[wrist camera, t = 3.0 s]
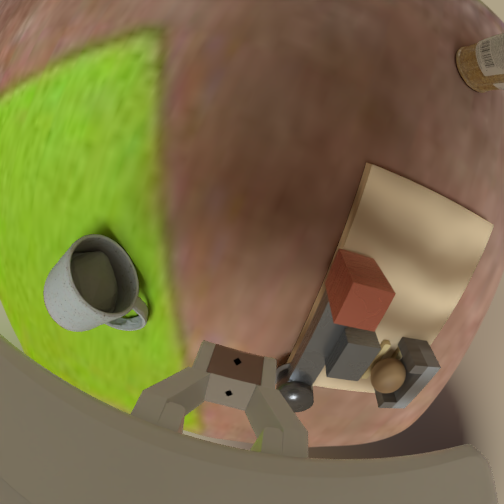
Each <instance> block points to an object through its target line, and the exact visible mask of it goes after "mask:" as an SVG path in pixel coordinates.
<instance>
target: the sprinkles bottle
mask: <svg viewBox="0 0 504 504" xmlns="http://www.w3.org/2000/svg"><path fill="white" fill-rule="evenodd" d="M456 63H457V67H458V70H459V73H460V75H461V76H462V78H463V79H464V81H465V82H466V84H467V85H468V86H470V87H471V88H472V89H474V90H475V91H478V92H482V93H483V92H487V91H489V90H497V89H501V90H504V33H502V34H499V35H496V36H493V37H490V38H487V39H484V40H481V41H479V42H478V43H476V44H473V45H470V46H466V47H461V48H460V49H459V50H458V51H457V54H456Z"/></svg>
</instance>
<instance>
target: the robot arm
mask: <svg viewBox="0 0 504 504" xmlns="http://www.w3.org/2000/svg"><path fill="white" fill-rule="evenodd" d="M276 364H277V360H276V359H274V358H269V357H265V356H264V357H263V356H260V355H256V354H251V353H247V352H243V351H239V350H235V349H232V348H228V347H225V346H222V345H219V344H214V343H211V342H208V341H205V340H204V341H203V342H202V344H201V346H200V349H199V351H198V354H197V356H196V359H195V361H194V364H193V366H192V368H191V367H187V368H185V369H183V370H181V371H180V372H178V373H176V374H174V375H172V376H170V377H168V378H166V379H164V380H163V381H161V382H159V383H157V384H155V385H153V386H151V387H149V388H147V389H145V390H143V392H142V394H141V395H140V397H139V399H138V401H137V403H136V405H135V407H134V409H133V411H132V413H131V415H130V414H128V413H126V412H123V411H121V410H119V409H117V408H115V407H113V406H110V405H108V404H106V403H104V402H102V401H100V400H98V399H96V398H94V397H92V396H91V395H89V394H87V393H85V392H83V391H81V390H80V389H78V388H76V387H74V386H73V385H71V384H69V383H68V382H66V381H64V380H63V379H61V378H59V377H58V376H56V375H55V374H53V373H51V372H50V371H48V370H47V369H45V368H44V367H42V366H41V365H40V364H38V363H37V362H35V361H34V360H32V359H31V358H30V357H28V356H27V355H26V354H24V353H23V352H22V351H20V350H19V349H18V348H16V347H15V346H14V345H13V344H11V343H10V342H9V341H8V340H6V339H5V338H4V337H3V336H2V335H1V334H0V504H498V499H497V493H496V487H495V482H494V478H493V474H492V471H491V467H490V464H489V462H488V460H487V458H486V457H485V456H484V455H483V454H482V453H481V452H480V451H479V450H477V449H476V448H475V447H473V446H472V445H470V444H465V445H461V446H457V447H453V448H448V449H444V450H439V451H434V452H428V453H422V454H416V455H408V456H400V457H389V458H378V459H377V458H376V459H316V458H308V431H307V430H306V428H305V427H304V426H303V424H302V423H301V421H300V420H299V419H298V417H297V416H296V414H295V413H294V412H293V410H292V409H291V407H290V406H289V404H288V403H287V401H286V400H285V399H284V397H283V396H282V394H281V393H280V391H279V390H277V389H275V381H276ZM204 401H208V402H212V403H216V404H221V405H225V406H228V407H232V408H236V409H240V410H244V411H245V413H246V415H247V417H248V419H249V422H250V424H251V426H252V428H253V430H254V432H255V434H256V437H257V440H256V442H255V443H254V445H253V446H252V448H251V449H250V450H244V449H239V448H234V447H230V446H225V445H221V444H217V443H213V442H209V441H205V440H201V439H198V438H194V437H191V436H188V435H184V434H182V432H183V424H184V416H185V415H187V414H188V413H189V412H191V411H192V410H193V409H195V408H196V407H197V406H199V405H200V404H201V403H203V402H204Z"/></svg>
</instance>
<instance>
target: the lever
mask: <svg viewBox="0 0 504 504" xmlns="http://www.w3.org/2000/svg"><path fill="white" fill-rule="evenodd" d="M325 286H326V289H325V292H324V294H323V296H322V298H321V301H320V303H319V305H318V307H317V310H316V312H315V314H314V316H313V318H312V320H311V323H310V325H309V327H308V329H307V331H306V333H305V335H304V337H303V339H302V341H301V343H300V345H299V347H298V349H297V351H296V353H295V355H294V357H293V359H292V361H291V363H290V365H289V367H288V369H285V370H283V371H282V372H280V373H279V374H278V376H277V385H276V389H277V390H279V391H280V393H281V394H282V396H283V397H284V399H285V400H286V401H287V403H288V404H289V406H290V407H291V409H292V410H293V412H301V411H304V410H307V409H308V408H310V407H311V406H312V405H313V402H314V400H313V383H314V382H315V380H316V379H317V377H318V375H319V374H320V372H321V371H322V369H323V368H324V366H325V368H326V377H330V378H336V379H344V380H351V381H359V379H360V378H361V377H362V375H363V374H364V373H365V371H366V370H367V369H368V367H369V366H370V364H371V363H372V362H373V360H374V359H375V357H376V356H377V354H378V353H379V351H380V350H381V346H380V344H379V341H378V338H377V335H376V333H375V330H376V328H377V327H378V325H379V323H380V321H381V320H382V318H383V316H384V315H385V313H386V311H387V309H388V307H389V306H390V304H391V302H392V300H393V298H394V296H395V294H396V293H395V291H394V290H393V288H392V286H391V285H390V283H389V282H388V280H387V278H386V277H385V275H384V274H383V272H382V270H381V269H380V267H379V266H378V264H377V263H376V261H375V260H374V259H373V258H370V257H367V256H363V255H360V254H357V253H353V252H350V251H347V250H343V249H340V248H339V249H338V251H337V254H336V256H335V259H334V261H333V264H332V266H331V269H330V271H329V274H328V276H327V279H326V281H325Z"/></svg>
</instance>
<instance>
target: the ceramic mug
mask: <svg viewBox="0 0 504 504" xmlns="http://www.w3.org/2000/svg"><path fill="white" fill-rule="evenodd" d="M138 293H139V281H138V277H137V273H136V270H135V267H134V265H133V263H132V261H131V259H130V257H129V256H128V254H127V253H126V252H125V250H124V249H123V248H122V247H121V246H120V245H119V244H118V243H116V242H115V241H114V240H112V239H110V238H109V237H106V236H103V235H99V234H91V235H86V236H83V237H81V238H80V239H78V240H77V241H76V242H74V243H73V244H72V246H71V247H70V248H69V249H68V250H67V252H66V253H65V254H64V255H63V256H62V257H61V259H60V260H59V261H58V263H57V264H56V265H55V266H54V267H53V268H52V270H51V271H50V273H49V275H48V277H47V279H46V282H45V286H44V302H45V305H46V308H47V310H48V312H49V314H50V316H51V317H52V318H53V320H54V321H55V322H56V323H57V324H59V325H60V326H61V327H63V328H65V329H67V330H70V331H78V332H79V331H86V330H90V329H93V328H95V327H97V326H99V325H102V324H104V323H105V324H107V325H108V326H111V327H113V328H116V329H120V330H126V331H132V330H138V329H141V328H143V327H144V326H145V325H146V323H147V317H148V308H147V305H146V304H145V303H144V302H143V301H142V300H141V298H140V297H138ZM132 309H133V310H135V312H136V313H137V314H138V315H139V316H137V317H133V318H122V316H124V315H126V314H127V313H128V312H129V311H131V310H132Z"/></svg>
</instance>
